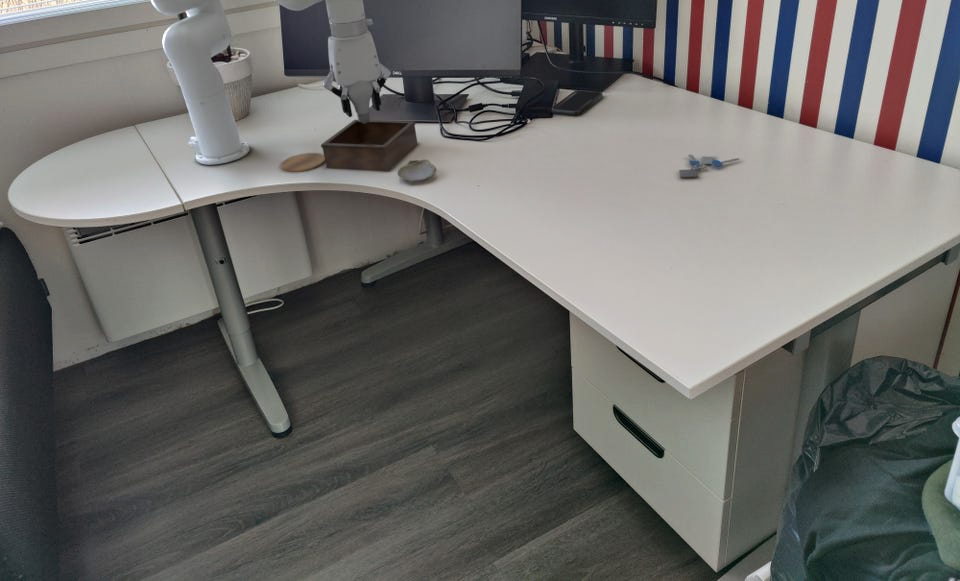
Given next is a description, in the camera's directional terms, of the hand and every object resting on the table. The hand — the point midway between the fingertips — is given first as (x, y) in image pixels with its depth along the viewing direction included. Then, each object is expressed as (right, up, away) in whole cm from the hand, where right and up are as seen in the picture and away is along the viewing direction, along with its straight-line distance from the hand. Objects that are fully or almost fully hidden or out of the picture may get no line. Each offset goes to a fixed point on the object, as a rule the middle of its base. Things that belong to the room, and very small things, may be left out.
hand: (362, 111), depth 164 cm
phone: (+51, +7, +21) cm, 55 cm away
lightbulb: (0, -3, +2) cm, 3 cm away
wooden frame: (+2, -9, +5) cm, 11 cm away
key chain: (+70, -15, -16) cm, 73 cm away
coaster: (-15, -10, +6) cm, 19 cm away
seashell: (+13, -16, -8) cm, 22 cm away
